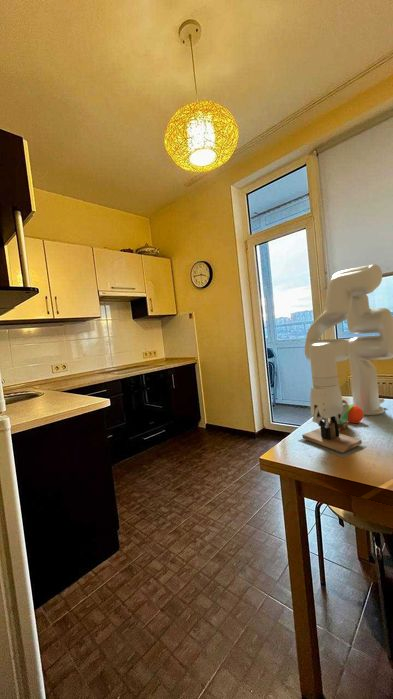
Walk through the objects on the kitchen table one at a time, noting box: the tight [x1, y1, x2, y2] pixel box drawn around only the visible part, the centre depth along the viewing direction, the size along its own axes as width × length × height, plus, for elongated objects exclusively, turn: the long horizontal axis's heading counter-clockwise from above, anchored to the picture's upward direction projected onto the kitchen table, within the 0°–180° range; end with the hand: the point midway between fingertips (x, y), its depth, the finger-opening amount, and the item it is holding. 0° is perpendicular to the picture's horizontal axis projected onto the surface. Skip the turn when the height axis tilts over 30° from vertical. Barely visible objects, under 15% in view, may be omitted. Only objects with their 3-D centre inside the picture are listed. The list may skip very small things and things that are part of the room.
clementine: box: [347, 404, 364, 424], centre depth 110 cm, size 8×7×7 cm
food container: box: [338, 398, 350, 432], centre depth 106 cm, size 12×6×10 cm, turn 148°
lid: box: [301, 421, 363, 453], centre depth 93 cm, size 9×15×6 cm, turn 27°
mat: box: [297, 438, 367, 459], centre depth 93 cm, size 11×17×1 cm, turn 27°
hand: (330, 436), depth 93 cm, fingers closed on lid, 3 cm apart
